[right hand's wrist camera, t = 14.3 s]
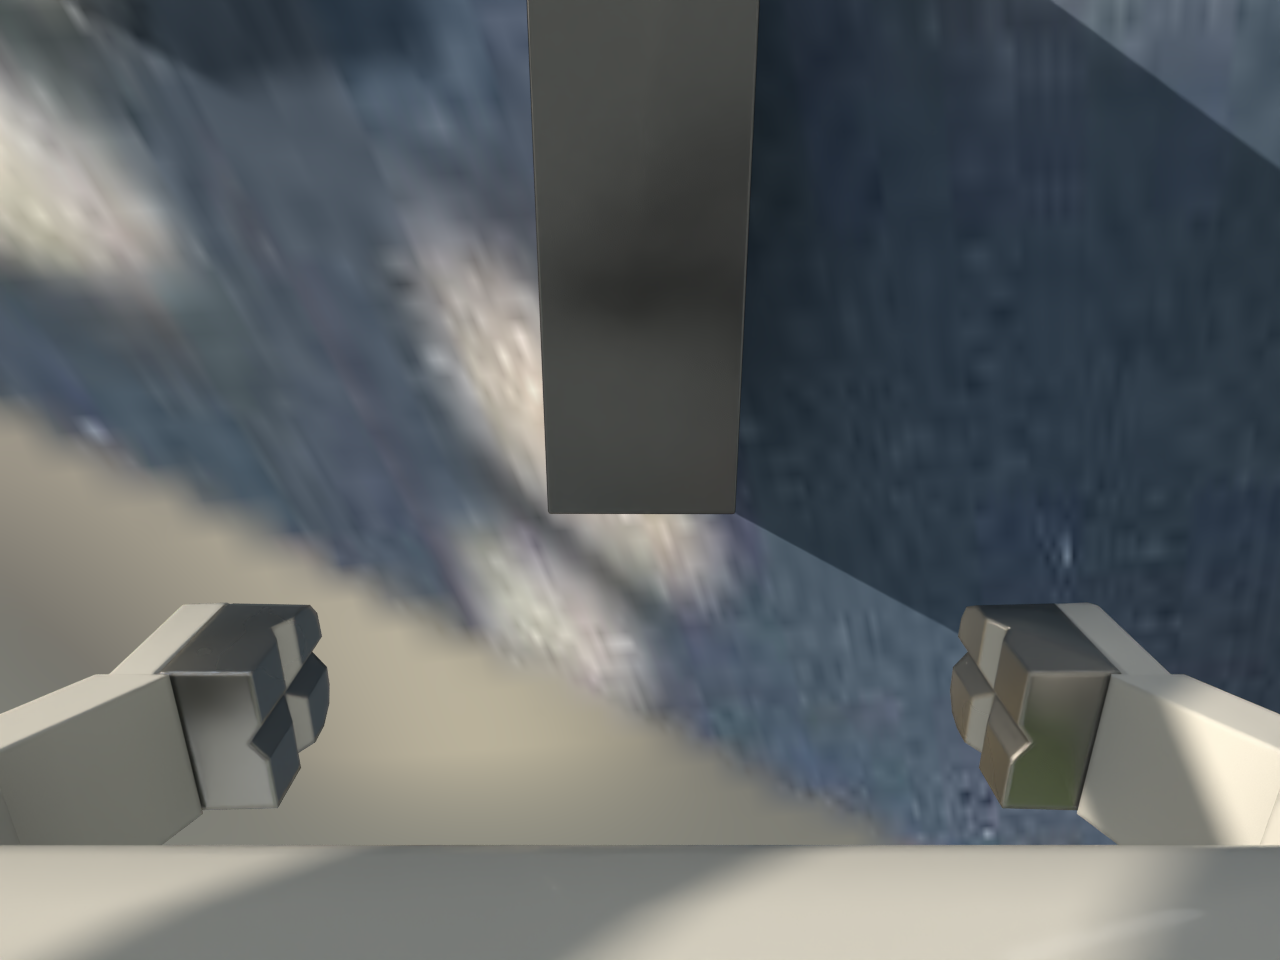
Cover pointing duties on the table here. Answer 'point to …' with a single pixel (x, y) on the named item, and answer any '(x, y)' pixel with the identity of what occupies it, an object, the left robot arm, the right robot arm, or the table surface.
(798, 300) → the table surface
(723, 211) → the bar
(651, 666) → the table surface
